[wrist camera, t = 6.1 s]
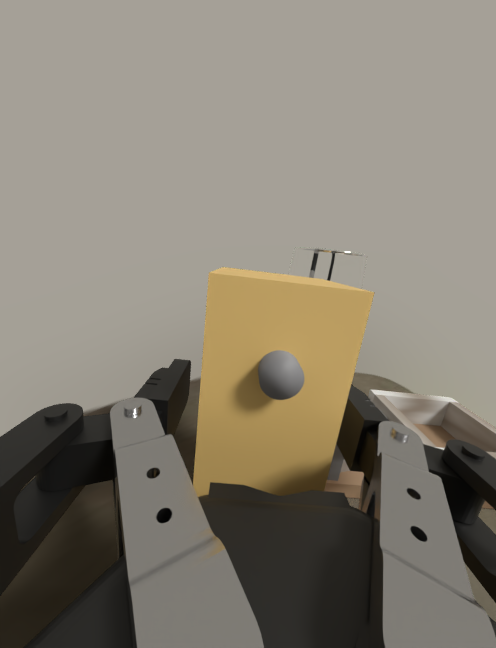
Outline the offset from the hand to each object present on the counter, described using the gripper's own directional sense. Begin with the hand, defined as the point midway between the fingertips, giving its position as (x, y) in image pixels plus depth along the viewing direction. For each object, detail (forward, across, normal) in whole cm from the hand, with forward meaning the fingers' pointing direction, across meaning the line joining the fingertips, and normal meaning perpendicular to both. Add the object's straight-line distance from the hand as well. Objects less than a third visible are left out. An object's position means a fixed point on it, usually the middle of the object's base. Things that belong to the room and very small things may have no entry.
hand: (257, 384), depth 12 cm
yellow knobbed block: (-2, 0, +8) cm, 8 cm away
